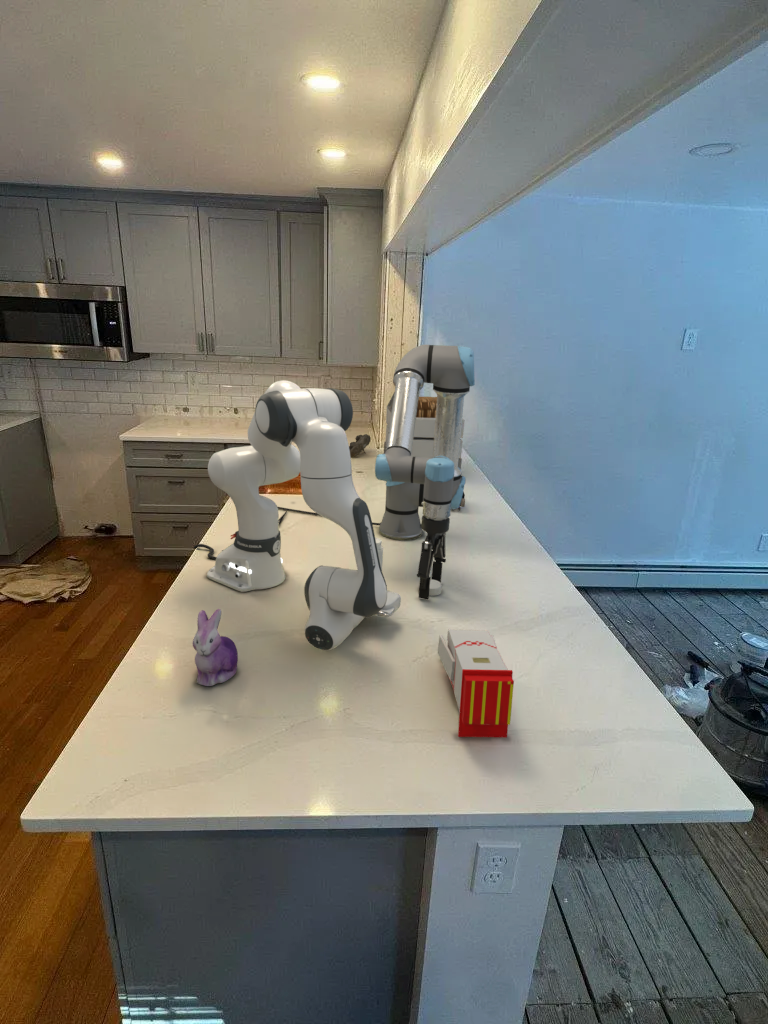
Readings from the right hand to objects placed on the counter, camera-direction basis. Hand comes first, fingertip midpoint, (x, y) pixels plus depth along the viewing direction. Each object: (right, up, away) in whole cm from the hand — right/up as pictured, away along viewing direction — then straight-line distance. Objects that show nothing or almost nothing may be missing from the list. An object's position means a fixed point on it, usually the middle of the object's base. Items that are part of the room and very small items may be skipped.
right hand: (429, 590), depth 160 cm
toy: (+5, -16, -41) cm, 44 cm away
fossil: (-27, +54, +147) cm, 159 cm away
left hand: (-16, +3, -10) cm, 19 cm away
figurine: (-48, -12, -40) cm, 64 cm away
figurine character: (+16, +24, +70) cm, 76 cm away
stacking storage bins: (+4, +41, +115) cm, 122 cm away
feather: (-50, +21, +53) cm, 76 cm away
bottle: (-17, -3, -9) cm, 19 cm away
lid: (0, +2, 0) cm, 2 cm away
